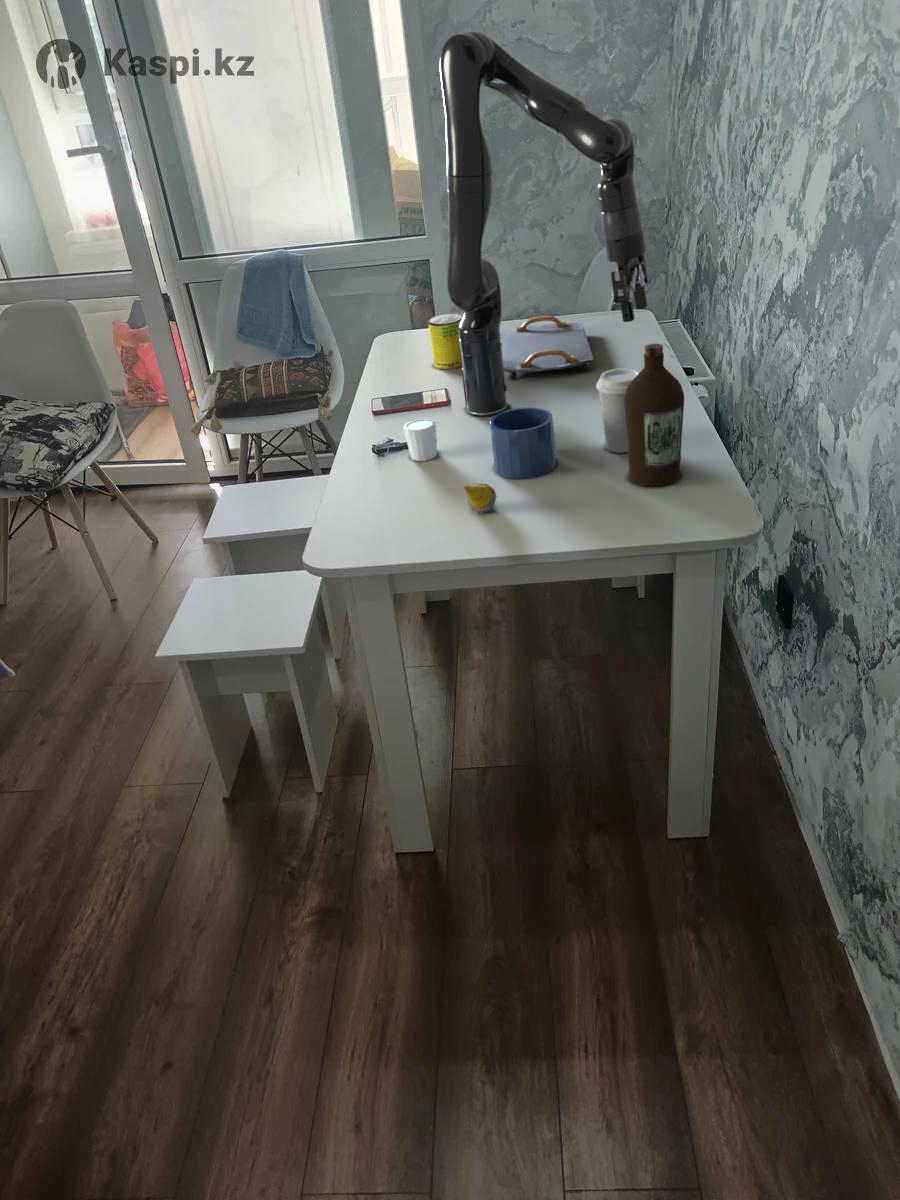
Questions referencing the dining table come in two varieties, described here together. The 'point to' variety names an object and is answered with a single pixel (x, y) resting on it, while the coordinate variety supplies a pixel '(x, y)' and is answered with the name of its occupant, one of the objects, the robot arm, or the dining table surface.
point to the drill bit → (480, 497)
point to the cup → (523, 442)
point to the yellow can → (445, 341)
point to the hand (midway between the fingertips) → (635, 314)
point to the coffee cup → (615, 406)
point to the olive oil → (654, 422)
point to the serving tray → (545, 347)
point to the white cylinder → (421, 439)
